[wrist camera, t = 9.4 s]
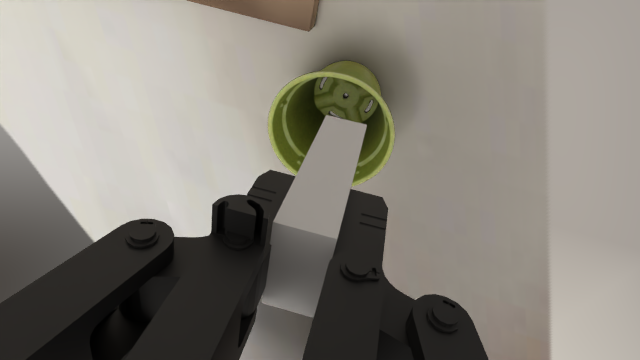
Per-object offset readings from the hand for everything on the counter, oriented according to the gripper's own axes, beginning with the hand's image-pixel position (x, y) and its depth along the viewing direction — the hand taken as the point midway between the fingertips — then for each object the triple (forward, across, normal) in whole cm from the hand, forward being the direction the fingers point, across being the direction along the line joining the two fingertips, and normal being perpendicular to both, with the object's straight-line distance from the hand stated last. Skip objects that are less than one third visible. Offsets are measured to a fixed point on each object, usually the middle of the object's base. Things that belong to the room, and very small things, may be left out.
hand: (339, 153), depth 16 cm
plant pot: (+23, +2, +6) cm, 24 cm away
